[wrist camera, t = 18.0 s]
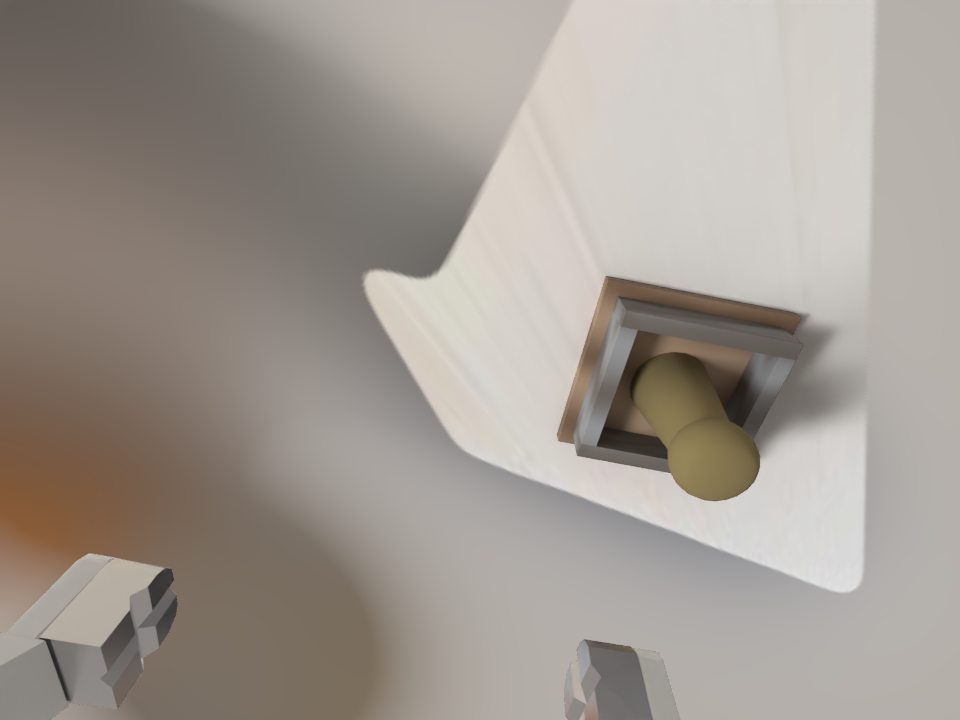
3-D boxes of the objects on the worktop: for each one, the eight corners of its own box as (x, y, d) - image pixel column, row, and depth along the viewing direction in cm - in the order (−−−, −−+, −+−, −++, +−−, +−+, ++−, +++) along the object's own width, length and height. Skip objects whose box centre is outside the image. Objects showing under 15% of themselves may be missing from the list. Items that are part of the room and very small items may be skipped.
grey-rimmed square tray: (605, 276, 36) (616, 293, 32) (794, 312, 36) (825, 334, 33) (557, 434, 42) (561, 463, 39) (717, 463, 43) (736, 495, 39)
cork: (665, 337, 37) (721, 417, 27) (725, 376, 38) (801, 467, 28) (614, 395, 39) (648, 488, 29) (672, 430, 40) (724, 531, 30)
